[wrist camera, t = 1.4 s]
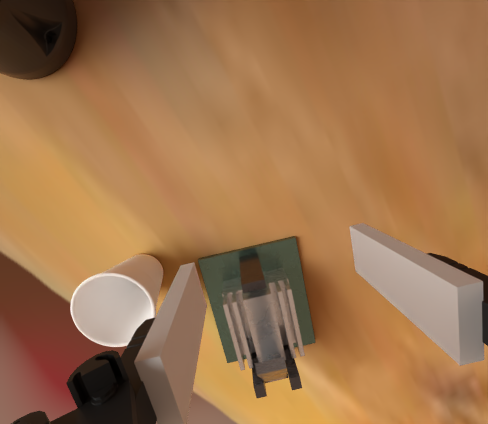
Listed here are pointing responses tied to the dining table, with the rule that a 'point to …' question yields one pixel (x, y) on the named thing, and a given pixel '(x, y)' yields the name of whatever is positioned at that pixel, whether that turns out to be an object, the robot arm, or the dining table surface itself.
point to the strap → (272, 370)
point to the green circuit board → (260, 305)
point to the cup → (118, 300)
